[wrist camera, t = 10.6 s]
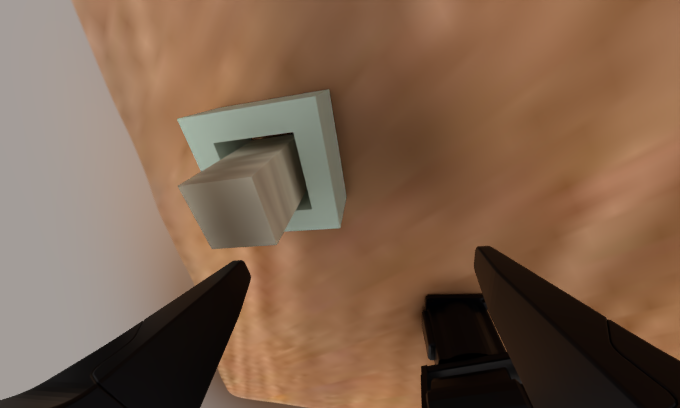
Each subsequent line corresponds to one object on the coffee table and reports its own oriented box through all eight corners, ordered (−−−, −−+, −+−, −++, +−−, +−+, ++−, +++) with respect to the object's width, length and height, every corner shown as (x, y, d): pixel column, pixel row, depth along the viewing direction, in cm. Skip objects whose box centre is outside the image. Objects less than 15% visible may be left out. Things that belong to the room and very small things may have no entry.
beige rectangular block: (304, 128, 20) (251, 176, 11) (315, 173, 22) (276, 244, 13) (259, 135, 20) (177, 185, 12) (274, 178, 22) (211, 248, 14)
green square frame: (329, 89, 18) (315, 96, 14) (346, 197, 22) (340, 228, 18) (219, 107, 20) (176, 118, 15) (256, 204, 24) (230, 234, 20)
